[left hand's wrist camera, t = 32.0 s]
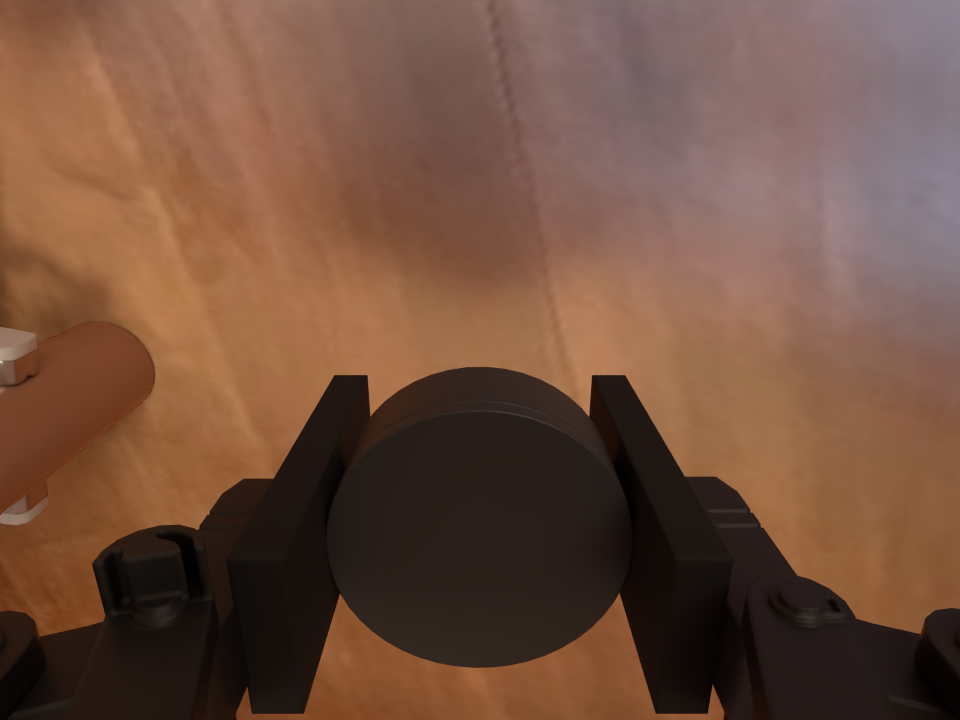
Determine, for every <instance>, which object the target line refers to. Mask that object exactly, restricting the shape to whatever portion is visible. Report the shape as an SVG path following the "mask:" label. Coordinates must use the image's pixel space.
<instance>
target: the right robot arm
mask: <svg viewBox="0 0 960 720" xmlns="http://www.w3.org/2000/svg"><path fill="white" fill-rule="evenodd" d="M38 372H39V360H38V348H37V335H36V334H35V333H33V332H27V331H21V330H16V329H10V328H4V327H0V386H10V385H16V384H19V383H21V382H23V381H24V380H25V379H26V377H27V376H28V375H29V376H34V375H36V374H37V373H38ZM47 507H48V492H47V480H45V481H44V482H42V483H41V484H40V485H39V486H37V487H36V488H35V489H34V490H32V491H31V492H30V493H29V494H27V495H26V496H25V497H24V498H22V499H21V500H20V501H19V502H17V503H16V504H15V505H14V506H12V507H11V508H10V509H9V510H7V511H6V512H5V513H4V514H2V515H1V516H0V523H2V524H8V525H21V524H25V523H28V522H30V521H32V520H33V519H34V518H35V517H36V516H37V515H38V514H40V513H41V512H42V511H43V510H44V509H45V508H47Z"/></svg>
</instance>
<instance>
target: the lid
mask: <svg viewBox="0 0 960 720" xmlns="http://www.w3.org/2000/svg"><path fill="white" fill-rule="evenodd" d="M633 539H634V531H633V520H632V516H631V512H630V508H629V504H628V501H627V499H626V496H625V494H624V491H623V489H622V486H621V484H620V481H619V479H618V476H617V473H616V471H615V468H614V466H613V463H612V461H611V458H610V456H609V453H608V451H607V448H606V446H605V444H604V441H603V439H602V436H601V435H600V433H599V431H598V430H597V428H596V426H595V425H594V423H593V421H592V420H591V419H590V418H589V417H588V415H587V414H586V413H585V412H584V410H583V409H582V408H581V407H580V406H579V405H577V404H576V403H575V402H574V401H573V400H572V399H571V398H570V397H568V396H567V395H566V394H564V393H563V392H561V391H560V390H558V389H557V388H556V387H554V386H552V385H550V384H548V383H546V382H544V381H542V380H540V379H538V378H535V377H532V376H529V375H527V374H524V373H520V372H516V371H512V370H507V369H501V368H491V367H466V368H459V369H452V370H447V371H443V372H440V373H436V374H432V375H429V376H427V377H425V378H422V379H420V380H417V381H415V382H413V383H411V384H410V385H408V386H406V387H404V388H403V389H401V390H399V391H398V392H396V393H395V394H394V395H393V396H391V397H390V398H389V399H387V400H386V401H385V402H384V403H383V404H382V405H381V406H380V407H379V408H378V409H377V410H376V411H375V412H374V413H373V414H372V416H371V417H370V418H369V420H368V421H367V422H366V424H365V425H364V426H363V428H362V430H361V432H360V434H359V436H358V438H357V439H356V442H355V444H354V447H353V449H352V452H351V454H350V457H349V459H348V462H347V464H346V467H345V469H344V472H343V474H342V477H341V479H340V482H339V484H338V487H337V489H336V492H335V494H334V497H333V500H332V503H331V506H330V508H329V513H328V518H327V524H326V544H327V553H328V563H329V566H330V570H331V573H332V577H333V579H334V581H335V583H336V586H337V588H338V590H339V592H340V594H341V595H342V597H343V599H344V600H345V602H346V603H347V605H348V606H349V608H350V609H351V610H352V611H353V612H354V614H355V615H356V616H357V617H358V618H359V619H360V620H361V621H362V622H363V623H364V624H365V625H366V626H367V627H368V628H369V629H370V630H371V631H373V632H374V633H375V634H377V635H378V636H380V637H381V638H382V639H384V640H385V641H387V642H388V643H390V644H392V645H394V646H395V647H397V648H399V649H401V650H403V651H405V652H407V653H410V654H412V655H415V656H417V657H419V658H423V659H426V660H430V661H433V662H436V663H441V664H447V665H452V666H460V667H472V668H482V667H499V666H507V665H513V664H518V663H522V662H527V661H530V660H533V659H536V658H539V657H542V656H545V655H547V654H550V653H552V652H554V651H556V650H558V649H560V648H562V647H564V646H566V645H567V644H569V643H571V642H572V641H574V640H576V639H577V638H579V637H580V636H581V635H583V634H584V633H585V632H586V631H588V630H589V629H590V628H591V627H592V626H593V625H594V624H595V623H596V622H597V621H598V620H599V619H600V618H602V617H603V615H604V614H605V613H606V612H607V610H608V609H609V608H610V606H611V605H612V604H613V603H614V601H615V599H616V598H617V596H618V594H619V592H620V591H621V589H622V587H623V585H624V582H625V579H626V577H627V574H628V572H629V568H630V564H631V559H632V549H633Z"/></svg>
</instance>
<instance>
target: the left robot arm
mask: <svg viewBox="0 0 960 720" xmlns="http://www.w3.org/2000/svg"><path fill="white" fill-rule="evenodd" d="M369 418H370V405H369V391H368V376H367V375H334V377H333V379H332V380H331V382H330V384H329V386H328V387H327V389H326V391H325V392H324V394H323V396H322V397H321V399H320V401H319V403H318V404H317V406H316V408H315V409H314V411H313V413H312V414H311V416H310V418H309V419H308V421H307V423H306V425H305V426H304V428H303V430H302V431H301V433H300V435H299V436H298V438H297V440H296V442H295V443H294V445H293V447H292V448H291V450H290V452H289V453H288V455H287V457H286V459H285V460H284V462H283V464H282V465H281V467H280V469H279V470H278V472H277V474H276V476H275V477H274V479H243V480H241V481H240V482H239V483H237V484H236V485H234V486H233V487H231V488H230V489H228V490H227V491H226V492H224V493H223V494H222V495H221V496H220V498H219V499H218V501H217V502H216V503H215V505H214V506H213V508H212V509H211V510H210V515H207V516H206V518H205V519H204V520H203V522H202V523H201V525H200V526H199V527H200V528H199V530H196V529H194V528H191V527H186V526H182V525H160V526H156V527H152V528H147V529H143V530H139V531H137V532H134V533H132V534H130V535H127V536H125V537H123V538H121V539H118V540H117V541H116V542H114V543H113V544H111V545H110V546H108V547H107V548H106V549H104V550H103V551H102V552H101V553H100V554H99V556H98V557H97V558H96V559H95V561H94V562H93V563H92V566H93V569H94V573H95V577H96V581H97V585H98V589H99V592H100V596H101V600H102V604H103V608H104V612H105V615H106V616H105V619H104V621H103V622H100V623H97V624H93V625H90V626H86V627H81V628H77V629H72V630H68V631H64V632H59V633H55V634H50V635H46V636H41V637H40V636H39V633H38V630H37V626H36V623H35V621H34V620H33V619H32V618H31V617H29V616H28V615H27V614H26V613H21V612H14V611H3V612H0V720H237V718H236V712H237V709H238V707H239V705H240V702H241V700H242V697H243V695H244V693H245V690H246V688H247V687H248V693H249V699H250V704H251V710H252V714H304V711H305V708H306V704H307V701H308V698H309V695H310V691H311V688H312V685H313V681H314V678H315V675H316V671H317V668H318V665H319V661H320V658H321V655H322V651H323V648H324V645H325V641H326V638H327V635H328V631H329V628H330V625H331V621H332V618H333V615H334V611H335V608H336V605H337V601H338V598H339V595H340V592H339V590H338V588H337V586H336V583H335V581H334V579H333V577H332V573H331V570H330V566H329V563H328V553H327V544H326V524H327V518H328V513H329V508H330V506H331V503H332V500H333V497H334V494H335V492H336V489H337V487H338V484H339V482H340V479H341V477H342V474H343V472H344V469H345V467H346V464H347V462H348V459H349V457H350V454H351V452H352V449H353V447H354V444H355V442H356V439H357V438H358V436H359V434H360V432H361V430H362V428H363V426H364V425H365V424H366V422H367V421H368V420H369ZM589 418H590V419H591V420H592V421H593V423H594V425H595V426H596V428H597V430H598V431H599V433H600V435H601V436H602V439H603V441H604V444H605V446H606V448H607V451H608V453H609V456H610V458H611V461H612V463H613V466H614V468H615V471H616V473H617V476H618V479H619V481H620V484H621V486H622V489H623V491H624V494H625V496H626V499H627V501H628V504H629V508H630V512H631V516H632V520H633V531H634V539H633V549H632V559H631V564H630V568H629V572H628V574H627V577H626V579H625V582H624V585H623V587H622V589H621V591H620V592H619V593H620V596H621V599H622V603H623V606H624V609H625V613H626V616H627V619H628V623H629V626H630V629H631V633H632V636H633V639H634V643H635V646H636V649H637V653H638V656H639V659H640V663H641V666H642V669H643V672H644V676H645V679H646V682H647V686H648V689H649V692H650V696H651V699H652V702H653V706H654V709H655V712H656V714H708V708H709V702H710V696H711V690H712V685H713V686H714V688H715V691H716V693H717V695H718V698H719V700H720V702H721V705H722V707H723V710H724V712H725V713H724V718H723V720H960V609H956V608H948V609H941V610H935V611H934V612H932V613H931V614H930V615H929V616H928V617H926V618H925V621H924V625H923V628H922V631H921V634H917V633H913V632H908V631H904V630H899V629H895V628H890V627H886V626H881V625H877V624H872V623H869V622H866V621H862V620H859V619H856V618H855V615H854V614H853V612H852V611H851V609H850V608H849V606H848V605H847V603H846V602H845V601H844V600H843V599H842V598H840V597H839V596H838V595H837V594H835V593H834V592H833V591H832V590H830V589H829V588H827V587H825V586H823V585H821V584H819V583H817V582H815V581H813V580H811V579H807V578H804V577H800V576H797V575H796V573H795V572H794V570H793V569H792V568H791V566H790V565H789V563H788V562H787V561H786V559H785V558H784V556H783V555H782V554H781V552H780V551H779V549H778V548H777V547H776V545H775V544H774V542H773V541H772V539H771V538H770V537H769V535H768V534H767V532H766V531H765V530H764V528H761V526H760V523H759V521H758V520H757V518H756V517H755V516H754V514H753V513H750V508H749V507H748V506H747V504H746V503H745V501H744V500H743V499H742V497H741V496H740V494H739V493H738V492H737V491H736V490H734V489H733V488H731V487H730V486H729V485H727V484H726V483H724V482H723V481H721V480H720V479H718V478H717V477H685V476H684V475H683V473H682V471H681V469H680V468H679V466H678V464H677V463H676V461H675V459H674V458H673V456H672V454H671V452H670V451H669V449H668V447H667V446H666V444H665V442H664V441H663V439H662V437H661V435H660V434H659V432H658V430H657V429H656V427H655V425H654V424H653V422H652V420H651V418H650V417H649V415H648V413H647V412H646V410H645V408H644V407H643V405H642V403H641V401H640V400H639V398H638V396H637V395H636V393H635V391H634V390H633V388H632V386H631V384H630V383H629V381H628V379H627V378H626V376H625V375H592V385H591V400H590V415H589Z"/></svg>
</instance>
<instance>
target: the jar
mask: <svg viewBox="0 0 960 720" xmlns="http://www.w3.org/2000/svg"><path fill="white" fill-rule="evenodd" d="M37 348H38V360H39V372H38V373H37V374H36V375H34V376H29V375H28V376H27V377H26V379H25V380H24V381H23V382H21V383H19V384H16V385H10V386H0V516H1V515H2V514H4V513H5V512H6V511H7V510H9V509H10V508H11V507H12V506H14V505H15V504H16V503H17V502H19V501H20V500H21V499H22V498H24V497H25V496H26V495H27V494H29V493H30V492H31V491H32V490H34V489H35V488H36V487H37V486H39V485H40V484H41V483H42V482H44V481H45V480H46V479H47V478H49V477H50V476H51V475H52V474H54V473H55V472H56V471H57V470H58V469H60V468H61V467H62V466H63V465H65V464H66V463H67V462H68V461H70V460H71V459H72V458H73V457H75V456H76V455H77V454H78V453H80V452H81V451H82V450H83V449H85V448H86V447H87V446H88V445H90V444H91V443H92V442H93V441H95V440H96V439H97V438H98V437H100V436H101V435H102V434H103V433H105V432H106V431H107V430H108V429H110V428H111V427H112V426H113V425H115V424H116V423H117V422H118V421H120V420H121V419H122V418H123V417H125V416H126V415H127V414H128V413H130V412H131V411H132V410H133V409H135V408H136V407H137V406H138V405H140V404H141V403H142V402H143V401H144V400H145V399H146V398H147V397H148V395H149V394H150V392H151V390H152V387H153V382H154V368H153V364H152V361H151V358H150V356H149V354H148V352H147V350H146V349H145V348H144V346H143V345H142V344H141V343H140V342H139V340H138V339H136V338H135V337H134V336H133V335H132V334H130V333H129V332H127V331H126V330H124V329H122V328H120V327H118V326H115V325H112V324H109V323H104V322H86V323H82V324H79V325H76V326H74V327H72V328H70V329H68V330H66V331H64V332H62V333H60V334H58V335H56V336H54V337H52V338H50V339H47V340H45V341H43V342H41V343H39V344H37Z"/></svg>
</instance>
